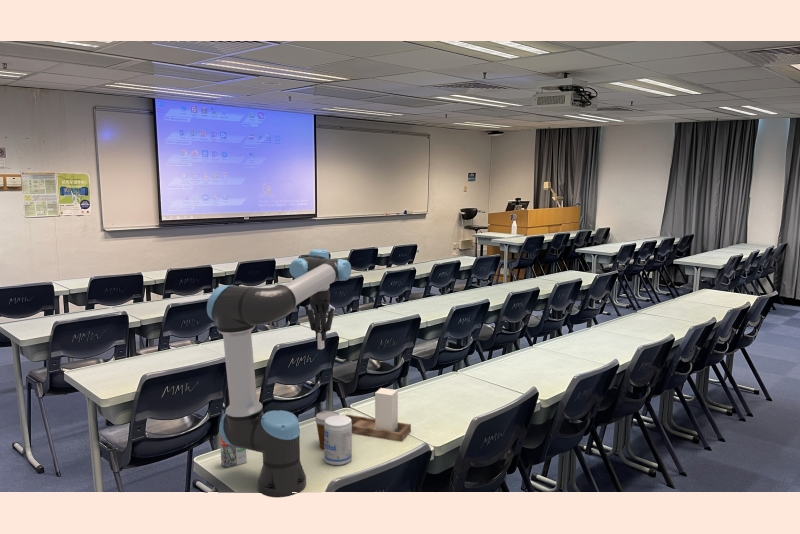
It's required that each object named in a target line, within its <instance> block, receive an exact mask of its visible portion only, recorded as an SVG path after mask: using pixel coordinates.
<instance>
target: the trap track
mask: <svg viewBox="0 0 800 534" xmlns="http://www.w3.org/2000/svg"><path fill="white" fill-rule="evenodd" d="M344 416H347V417H349V418H351V423H352V435H353V434H354V435H358V436H365V437H372V438H377V439H382V440H390V441H395V442H403V441H404V439H406V438H407V436H408V435H409V434H410V433H411V432H412V424H411V423H405V422H399V421H398V427H397V428H396V429H395V430H394V431H393V432H392V431H386V430H380V429H375V418H371V417H366V416H358V415H353V414H344Z"/></svg>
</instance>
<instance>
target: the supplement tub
mask: <svg viewBox="0 0 800 534" xmlns="http://www.w3.org/2000/svg"><path fill="white" fill-rule="evenodd" d="M352 436H353V434H352V423H351V418H349V417H347V416H345V415H341V414H340V415H336V416H331V417H328V418H327V419H326V420H325V425H324V449H323V450H324V454H323V455H324V461H325V462H326V463H327V464H329V465H331V466H334V465H335V466H343V465H346V464H348V463H349V462H351V460H352V457H353V456H352V449H353V447H352V445H353V444H352V443H353V440H352V439H353V437H352Z"/></svg>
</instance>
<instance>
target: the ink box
mask: <svg viewBox="0 0 800 534" xmlns="http://www.w3.org/2000/svg"><path fill="white" fill-rule="evenodd" d="M219 440H220V461H221V462H220V463H221V466H222V467H223V468H224V469H226V468H227V469H228V468H230V467H235V466H238V465H242V464H246V463H247V462H248V461H247V449H244V448H236V447H234V446H232V445H229V444H227V443H225V442H224V441H223V439H222V437H221V436H220V438H219Z"/></svg>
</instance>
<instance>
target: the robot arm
mask: <svg viewBox="0 0 800 534" xmlns="http://www.w3.org/2000/svg"><path fill="white" fill-rule="evenodd" d="M289 273H290V275H291V277H293V278H294V279H293V280H291V281H289V282H287V283H285V284H276V285H275V286H272V287H253V286H241V285H235V284H230V285H228V284H227V285H220V286H218V287H216V288H215V289H214V290H213V291H212V292H211V294H210V296H209V297H208V300H207V303H206V313H207V316H208V317H209V319H210V320H212V321H213V322H215V323H216V329H217V332H218V333H220V334H221V335H222V338H223V349H224V358H225V368H226V379H227V387H228V388H227V389H228V397H229V398H228V399H229V405H228V406H227V407H226V409H225V413H223V415H222V417H221V421H220V422H219V433H220V438H221V437H222V439H223V441H224V442H225V443H227V444H229V445H232V446H234V447H236V448H244V449H246V450H250V451H254V452H258V453H261V454H262V467H261V469H260V474H259V476H258V480H257V490H258V492H259V493H260V492H261V493H260V494H261V495H263V496H266V497H268V498H276V499H277V498H285V497H286V498H287V497H291V496H294V495H296V494H298V493H292V492H299V493H300V492H301V491H303V490H304V489H305V488H306V486H307V476H306V472H305V470H304V468H303V465H302V463H301V449H300V448H301V445H300V441H301V440H300V438H301V437H300V433H301V429H300V423H299V421H300V420H299V419H298V417H297V416H296V415H295V414H294V413H293V412H291V411H288V410H281V409H280V410H276V409H275V410H269V411H266V412H265V413H264V408H263V404H262V403H261V402H260V401H259V400H258V397H257V396H258V395H257V394H258V393H257V386H256V383H257V382H256V373H255V363H254V361H255V359H254V352H253V349H254V348H253V341H252V331H253V330H254V329H255V327H256V326H263V325H266V324H269V323H272V322H276V321H278V320H280V319H282V318H283V317H285V316H287V315H289V314H290V313H292V312H293V311H294V310H295V309H296V307H297V305H300V303H302V302H303V301H305V300H307V299H308V298H310V301H309V304H308V305H306V306H304V310H305V311H306V313H307V318H308V322H309V326H310V330H311V331H313V332H315V340H316V341H317V350H323V349H325V341H327V332H329V331H331V328H332V326H333V325H332V324H333V318H334V315H335V312H336V310H337V307H334V306H332V305H331V302H330V299H331V292H330V284H332V283H335V282H336V281H340V282H343V281H348V280H349V279H350V277H351V274H352V265H351V263H350V262H349V260H347V259H341V258H338V259H337V258H330V253H329V250H327V249H319V248H318V249H316V248H315V249H311V250H309V254H308V256H305V257H299V258H296V259H294V260H292V261H291V263H289Z"/></svg>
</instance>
